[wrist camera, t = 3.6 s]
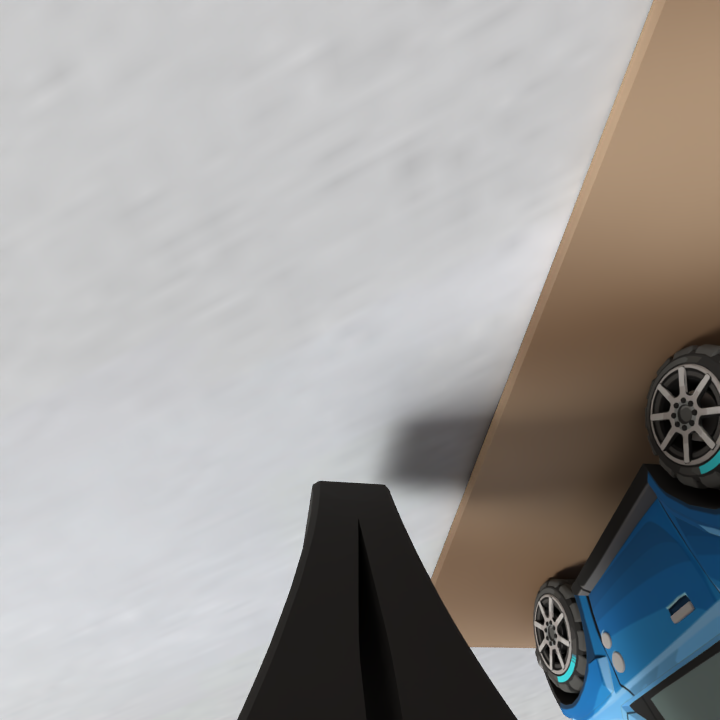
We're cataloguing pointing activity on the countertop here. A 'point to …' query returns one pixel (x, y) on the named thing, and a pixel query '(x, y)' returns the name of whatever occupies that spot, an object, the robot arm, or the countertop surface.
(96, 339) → the countertop surface
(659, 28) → the board
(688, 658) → the toy car
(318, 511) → the robot arm
